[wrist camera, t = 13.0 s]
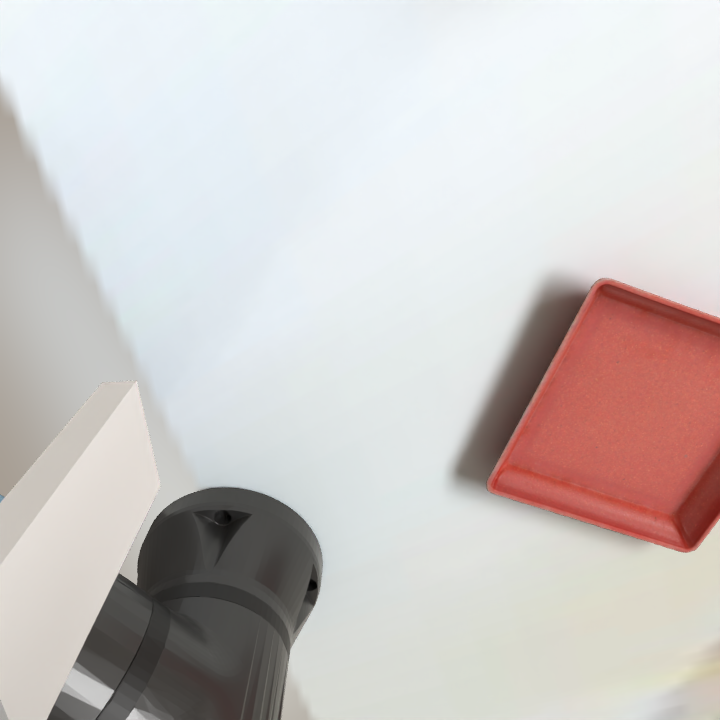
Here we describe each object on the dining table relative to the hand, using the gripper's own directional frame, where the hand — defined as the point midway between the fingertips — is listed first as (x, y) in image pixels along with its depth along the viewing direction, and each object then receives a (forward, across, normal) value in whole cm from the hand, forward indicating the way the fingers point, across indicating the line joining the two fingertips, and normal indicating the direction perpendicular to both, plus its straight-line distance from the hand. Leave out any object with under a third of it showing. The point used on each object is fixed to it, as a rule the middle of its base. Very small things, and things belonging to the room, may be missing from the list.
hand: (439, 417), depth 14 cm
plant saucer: (+31, +18, -17) cm, 40 cm away
